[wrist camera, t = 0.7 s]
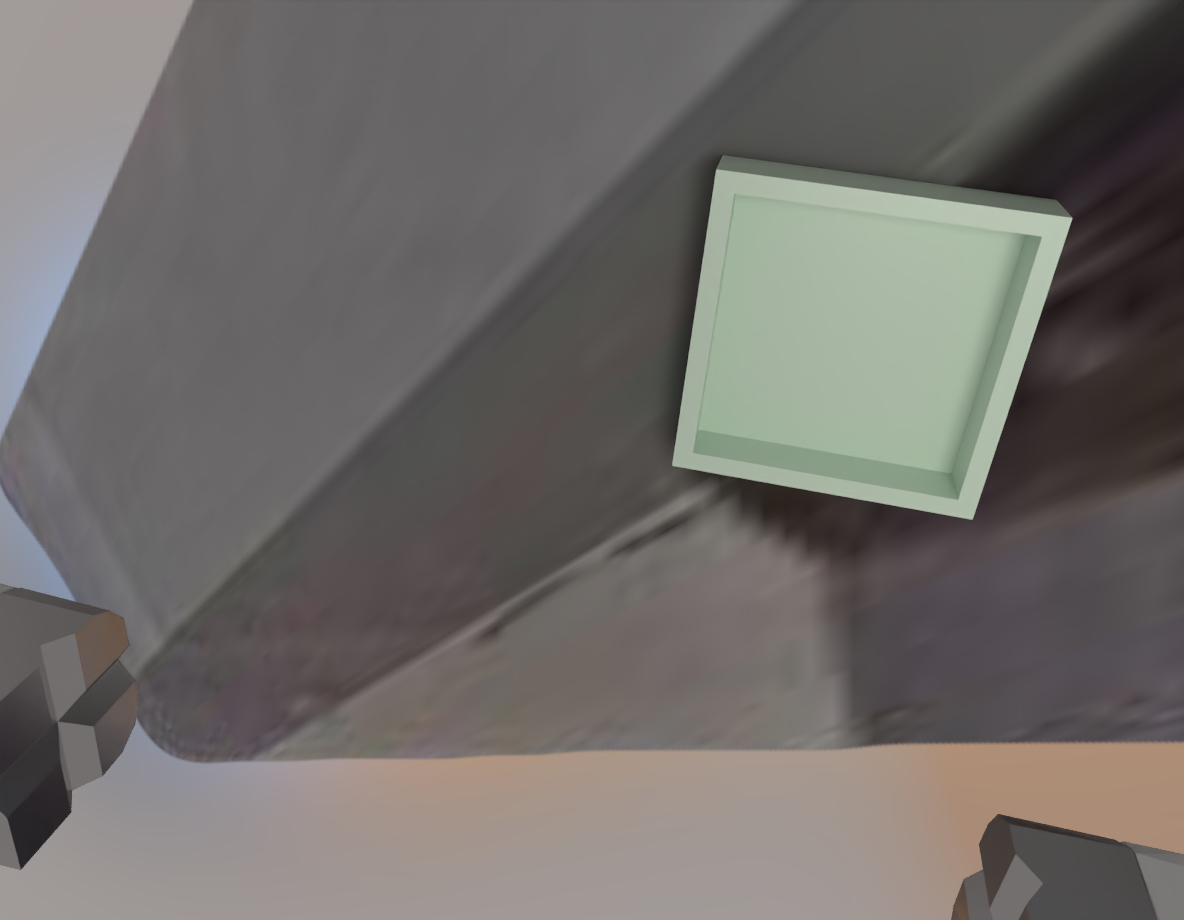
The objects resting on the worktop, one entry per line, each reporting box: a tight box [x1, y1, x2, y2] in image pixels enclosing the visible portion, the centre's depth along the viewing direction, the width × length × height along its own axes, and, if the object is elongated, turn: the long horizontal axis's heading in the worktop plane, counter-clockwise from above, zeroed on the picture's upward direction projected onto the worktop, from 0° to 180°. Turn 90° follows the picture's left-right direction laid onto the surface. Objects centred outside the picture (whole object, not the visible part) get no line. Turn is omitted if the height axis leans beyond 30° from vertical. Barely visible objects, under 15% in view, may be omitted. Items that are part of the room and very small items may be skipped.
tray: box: [672, 155, 1072, 520], centre depth 50 cm, size 16×16×4 cm
